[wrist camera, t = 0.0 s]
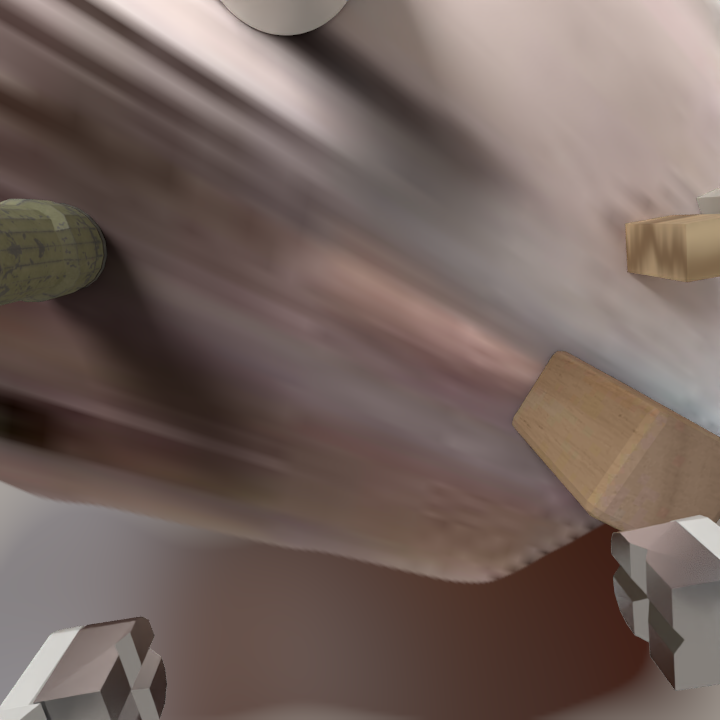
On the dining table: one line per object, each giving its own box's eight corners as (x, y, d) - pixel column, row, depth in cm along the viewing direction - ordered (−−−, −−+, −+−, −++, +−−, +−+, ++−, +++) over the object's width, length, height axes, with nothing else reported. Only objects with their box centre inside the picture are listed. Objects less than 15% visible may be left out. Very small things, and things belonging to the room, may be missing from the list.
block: (628, 386, 60) (768, 464, 41) (579, 460, 62) (689, 568, 43) (554, 345, 58) (662, 406, 39) (505, 422, 60) (585, 517, 41)
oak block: (625, 223, 55) (686, 223, 46) (673, 215, 55) (744, 213, 46) (627, 272, 57) (687, 282, 47) (674, 263, 57) (744, 271, 47)
